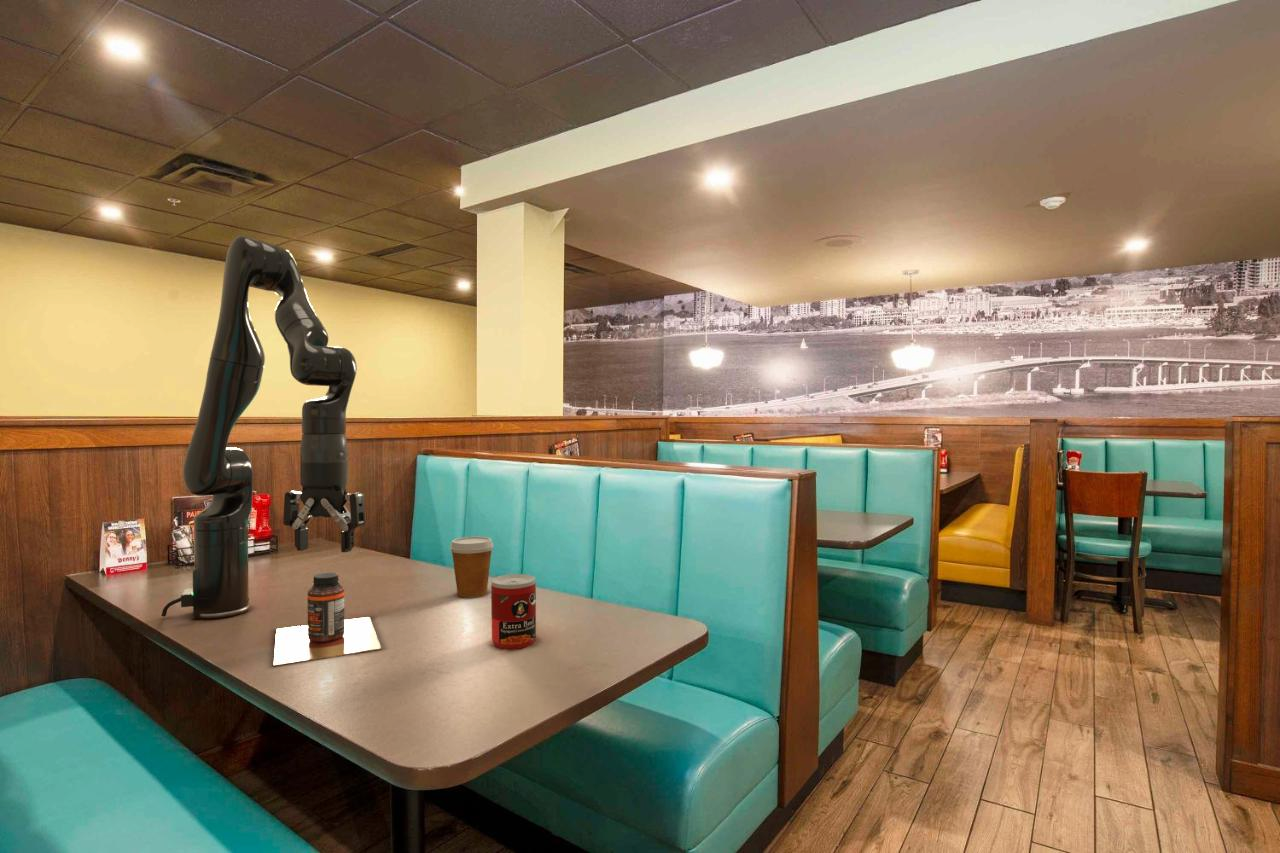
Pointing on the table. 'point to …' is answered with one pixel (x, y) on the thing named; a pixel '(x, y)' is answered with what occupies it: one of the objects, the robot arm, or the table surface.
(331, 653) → the placemat
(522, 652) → the table surface
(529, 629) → the canned food
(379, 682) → the table surface
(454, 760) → the table surface
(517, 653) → the table surface
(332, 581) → the supplement bottle
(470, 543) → the disposable coffee cup
